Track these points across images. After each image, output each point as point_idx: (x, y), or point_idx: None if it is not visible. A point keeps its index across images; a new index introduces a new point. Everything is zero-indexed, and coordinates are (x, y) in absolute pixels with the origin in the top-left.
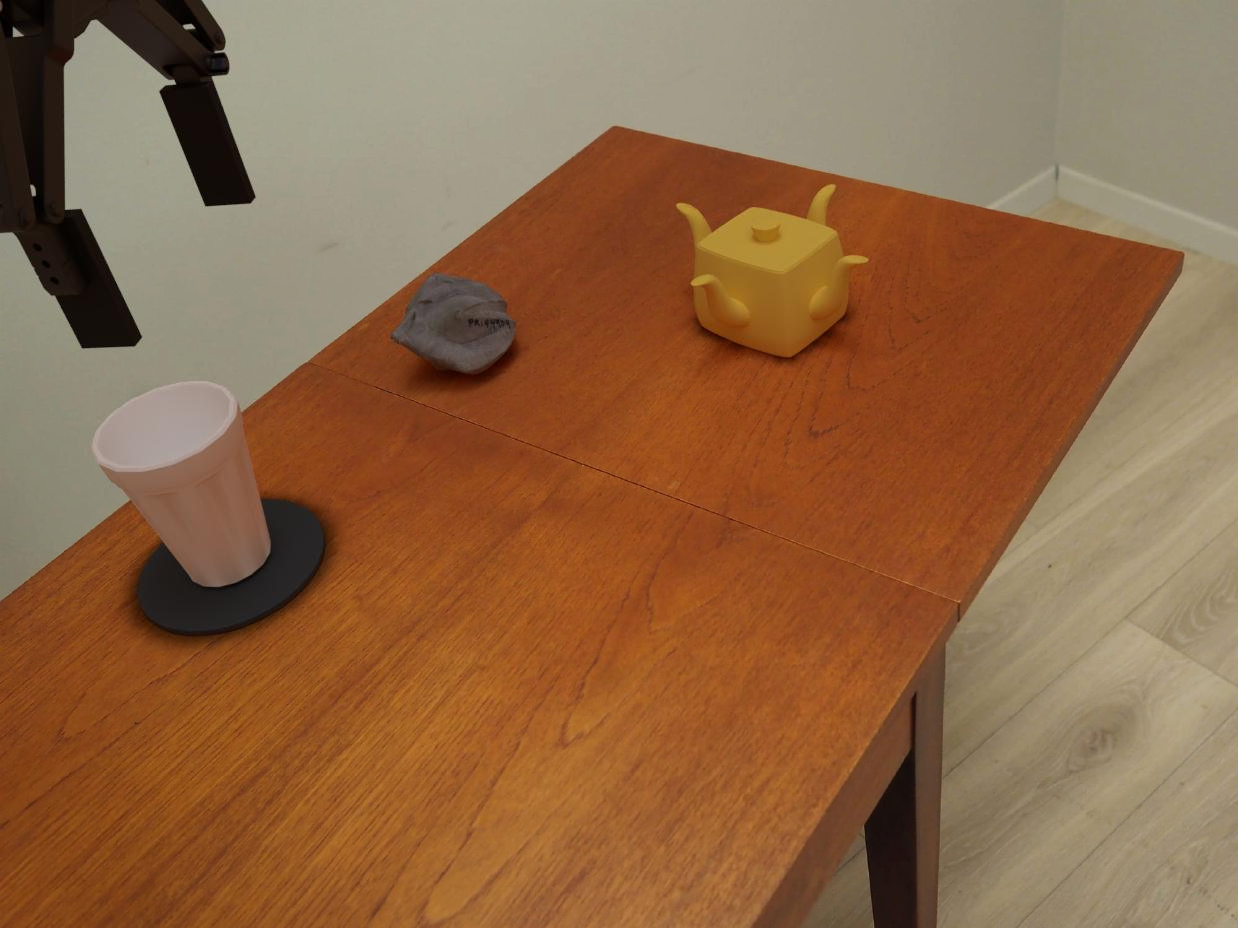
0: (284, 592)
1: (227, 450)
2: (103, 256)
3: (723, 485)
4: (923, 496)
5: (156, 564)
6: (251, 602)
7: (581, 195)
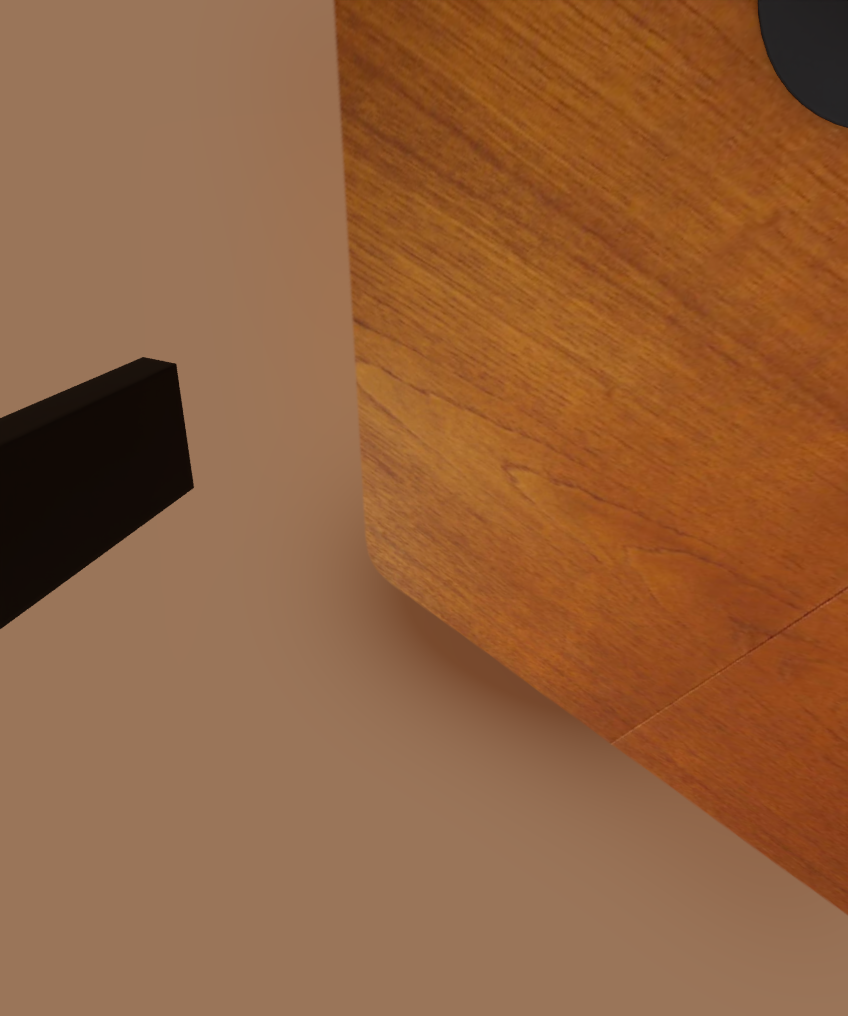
0: (814, 91)
1: None
2: (23, 609)
3: (835, 643)
4: (744, 772)
5: None
6: (806, 34)
7: None
